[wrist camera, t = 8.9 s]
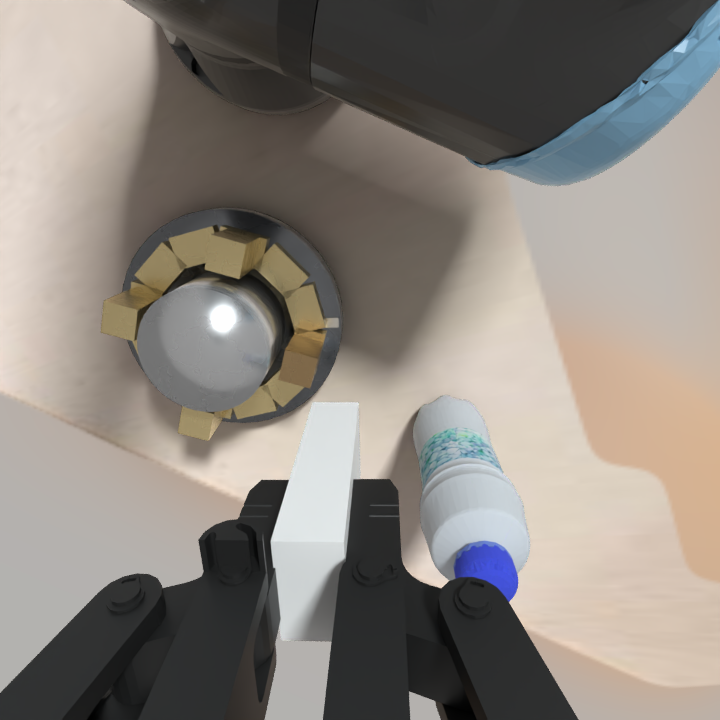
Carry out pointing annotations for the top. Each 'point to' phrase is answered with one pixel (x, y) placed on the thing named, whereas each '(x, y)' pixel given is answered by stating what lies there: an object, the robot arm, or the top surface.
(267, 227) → the cap plate
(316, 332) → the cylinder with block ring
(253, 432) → the top surface
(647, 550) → the top surface
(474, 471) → the bottle
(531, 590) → the top surface
